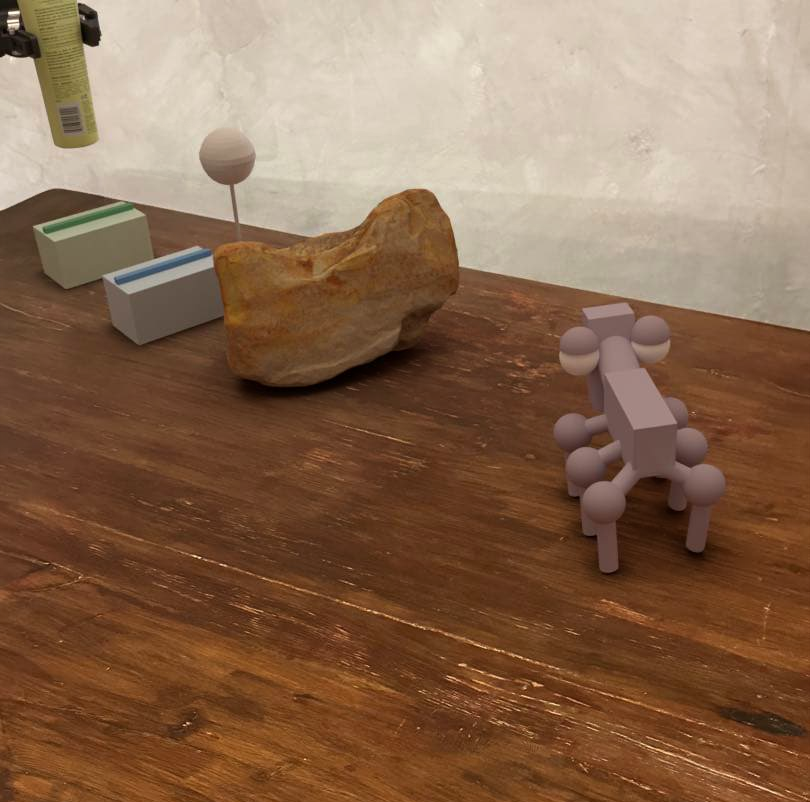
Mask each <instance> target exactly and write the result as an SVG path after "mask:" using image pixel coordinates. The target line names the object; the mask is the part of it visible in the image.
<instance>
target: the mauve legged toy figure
mask: <svg viewBox="0 0 810 802" xmlns="http://www.w3.org/2000/svg"><path fill="white" fill-rule="evenodd" d="M581 315H582V316H581V317H582V318H581V319H582V326H574V327H572V328H569V329H568V330H566V331H565V332H564V334H563V335H562V336H561V338H560V340H559V347H558V349H559V355H558V359H559V363H560V366H561V367H562V369H563V370H564V371H565V372H566V373H568V374H570V375H572V376H574V377H575V376H576V377H583V376H586V380H587V394H588V401H589V403H590V405H591V406H592V408H593V410H594V412H595V413H597V414H598V413H601V412H602V414H600V415H596V416H593V417H590V418H587V417H586V416H584V415H583V414H580V413H575V412H572V413H571V412H570V413H566V414H564V415H563V416H561V417H560V418H558V420H557V421H556V422H555V424H554V427H553V431H552V436H553V440H554V442H555V444H556V446H557V447H558V448H559V449H561V450H562V451H564V461H565V469H564V470H565V475H566V484H567V494H568V495H569V496H570V497H579V503H580V516H581V517H580V518H581V527H582V534H583V535H584V536H589V537H591V536H596V540H597V552H598V565H599V567H598V568H599V571H600V572H602V573H607V574H609V573H610V574H611V573H613V572H617V570H618V569H619V553H618V538H617V523H616V522H617V521H618V520H619V519H620V518H621V517H622V515H623V514H624V513H625V509H626V505H627V501H626V500H627V499H626V495H627V494H628V493H629V492H630V491H631V490H632V489H633V487H634V486H635V485H636V484H637V482H638V481H639V480H640V479H643V478H650V477H655V478H659V479H667V480H668V481H670V482H671V483H670V490H669V495H668V501H667V502H668V503H667V504H668V507H669V508H671V509H672V510H674V511H677V512H680V511H684V510H686V508H687V503H688V502H689V503H690V504H691V511H690V515H689V516H690V517H689V521H688V527H687V534H686V539H685V540H686V541H685V546H686V548H687V549H688V550H689V551H691V552H694V553H701V552H703V551H704V550H705V548H706V541H707V537H708V531H709V526H710V525H709V524H710V519H711V514H712V508H713V506H714V505H715V504H717V503H718V502H719V501H721V500H722V498H723V497H724V495H725V493H726V488H727V482H726V478H725V476H724V474H723V472H722V471H721V469H719V468H718V467H716V466H714V465H712V464H708V463H703V462H704V461H705V460H706V458H707V455H708V452H709V443H708V441H707V438H706V437H705V436H704V434H703V433H702V432H701V431H699V430H698V429H695V428H692V427H687V426H688V423H689V419H690V413H689V409H688V408H687V406H686V404H685V403H684V402H683V401H682V400H681V399H678V398H676V397H673V396H672V397H671V396H669V397H663V396H662V394H661V393H660V391H659V389H658V387H657V386H656V385H655V383H654V381H653V380H652V377H651V376H650V374H649V373H648V371H647V369H646V367H641V366H640V363H641V364H644V365H655V364H657V363H660V362H661V361H662V360H663V359H665V358H666V357H667V355H668V354H669V351H670V348H671V337H672V335H671V328H670V326H669V325H668V323H667V321H666V320H664V319H663V318H662V317H660V316H657V315H645V316H642V317H640V318H638V319H636V315H635V311H634V310H633V309H632V308H631V307H630V305H629V304H628V302H626V301H625V302H618V303H617V302H616V303H610V304H604V305H597V306H589V307H583V308H581ZM607 432H609V434H610V437H611V438H612V441H613V442H611V443H609V444H607V445H605V446H603V447H601V448H599V449H596V448H594V447H590V446H589V445H590V444H591V442H592V440H593V437H595V436H598V435H603V434H604V433H607ZM620 460H622V461H623V463H624V466H623V468H622V469H621V470H620V471H619V472H618V473H617V475H616V476H615V477H614V478H613V479H612V480H611V481H606V480H604V479H605V477H606V476H607V472H608V467H609V466H611V465H613V464H614V463H615V464H616V463H617V462H619V461H620Z"/></svg>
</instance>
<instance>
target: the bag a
mask: <svg viewBox="0 0 810 802" xmlns="http://www.w3.org/2000/svg"><path fill="white" fill-rule="evenodd" d="M101 279H102V282H103V286H104V291H105V296H106V300H107V305H108V309H109V313H110V318H111V323H112V327H114V328H115V329H116V330H118V331H119V332H121V333H122V334H123V335H124V336H126V337H127V338H128V339H130V340H131V341H132V342H134V343H135V345H137V346H142V345H144V344H148V343H150V342H154V341H156V340H159V339H162V338H165V337H168V336H172V335H173V334H176V333H179V332H182V331H185V330H188V329H190V328H194V327H197V326H199V325H202V324H205V323H208V322H211V321H214V320H216V319H220V318H222V317H224V310H223V304H222V297H221V291H220V286H219V282H218V278H217V276H216V274H215V269H214V265H213V254H212V250H211V249H210V248H208V247H206V248H202V247H200V246H199V245H196V246H192V247H189V248H186V249H183V250H180V251H176V252H173V253H169V254H165V255H164V256H160V257H157V258H154V260H150V261H147V262H144V263H141V264H138V265H134V266H131V267H128V268H125V269H122V270H118V271H115V272H112V273H109V274H106V275H103V276H102V278H101Z"/></svg>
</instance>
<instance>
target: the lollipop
mask: <svg viewBox="0 0 810 802" xmlns="http://www.w3.org/2000/svg"><path fill="white" fill-rule="evenodd" d="M256 157H257V153H256V149H255V147H254V145H253V143H252V141H251V140H250V139H249V137H248V136H247V135H245V133H244V132H242V131H240V130H239V129H236V128H233V127H218V128H215V129H214V130H212V131H211V132H209V133H208V134H207V135H206V136H205V138H204V139H203V141H202V142H201V146H200V148H199V152H198V158H199V163H200V165H201V167H202V169H203V171H204V172H205V174H206V175H207V177H209V178H210V179H211V180H212V181H214V182H215V183H217V184H219V185H224V186H229V190H230V198H231V199H230V200H231V204H232V210H233V211H232V212H233V219H234V226H235V233H236V242H238V241H242V234H241V227H240V219H239V213H238V204H237V199H236V190H235V185H238V184H241V183H242V182H244V181H245V180H246V179H247V178H249V176H250V175H251V173H252V172H253V170H254V167H255V162H256V159H257V158H256Z"/></svg>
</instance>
